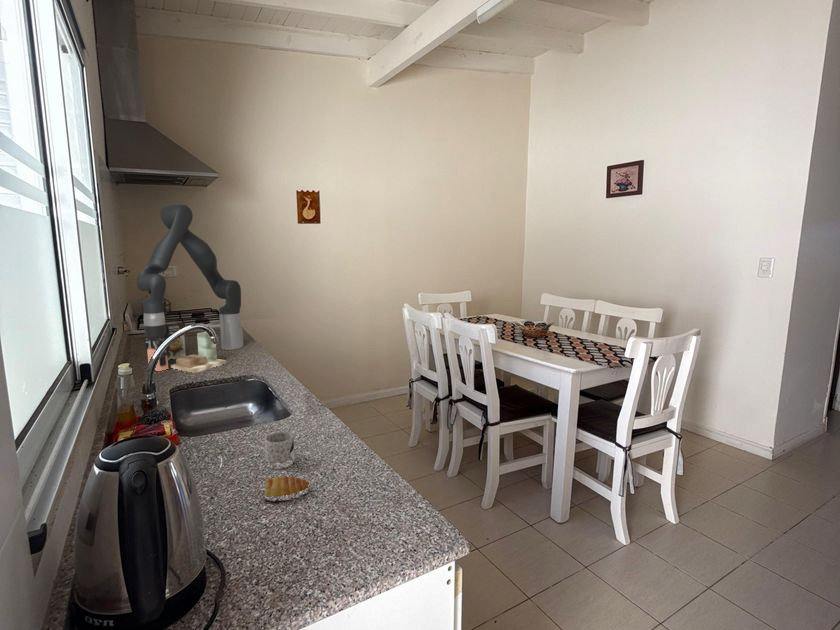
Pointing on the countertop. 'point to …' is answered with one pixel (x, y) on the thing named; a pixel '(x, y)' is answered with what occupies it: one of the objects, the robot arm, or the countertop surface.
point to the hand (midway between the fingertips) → (158, 364)
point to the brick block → (158, 367)
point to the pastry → (284, 486)
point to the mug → (279, 447)
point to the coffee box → (177, 345)
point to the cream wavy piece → (200, 356)
